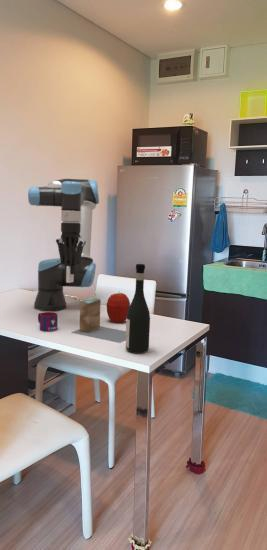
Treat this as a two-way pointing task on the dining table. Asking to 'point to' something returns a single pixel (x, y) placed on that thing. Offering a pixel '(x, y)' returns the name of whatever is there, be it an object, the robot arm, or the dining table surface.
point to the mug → (48, 321)
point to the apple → (118, 307)
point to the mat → (105, 334)
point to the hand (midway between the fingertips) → (69, 282)
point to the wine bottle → (138, 317)
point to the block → (89, 315)
